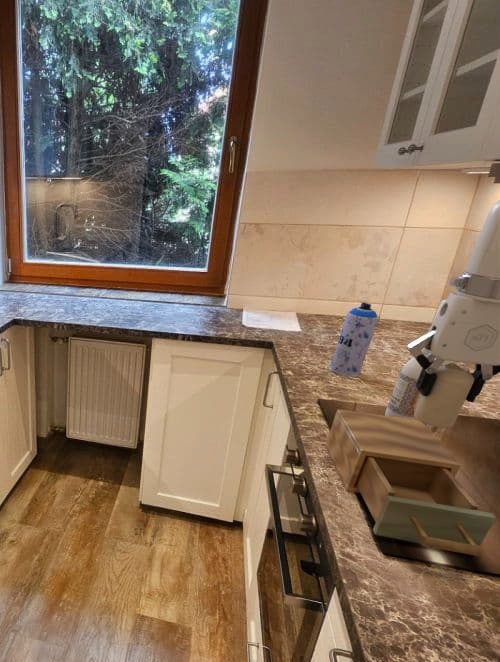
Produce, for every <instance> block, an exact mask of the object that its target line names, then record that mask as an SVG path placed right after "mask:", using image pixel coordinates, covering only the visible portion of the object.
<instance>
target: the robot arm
mask: <svg viewBox="0 0 500 662" xmlns="http://www.w3.org/2000/svg"><path fill="white" fill-rule="evenodd" d="M449 286H451V287H455V289H456V291H451V292H450V293H449V295H448V297H446V299H445V300H446V301H445V302H444V304H443V305H442V307H441V308H440V310H439V312H438V314H437V315H436V314H435V316H436V317H435V316H434V318H435V319H433V320H432V323H431V324H430V328H429V330H428V332H427V333H426V334H424V335H422V336H420V337H419V338H417V339H416V340H414V341H412V342H411V343H409V344H408V345H406V350H407V351H408V352H409V353H410V355H411V356H412V357H414V358H415V359H416V360H417V362H418V363H419V365H420V366H421V367H422V370H421V373H420V375H419V378H418V380H417V383H416V387H417V390H418V391H419V392H420V393H421V394H422V395H423V396H429V395H430V392H431V390H432V387H433V385H434V383H435V380H436V378H437V375H436V374H435V371H436V370H437V369H438V368H439V367H440V366H441V365H442V363H443V362H444V361H445V360H447V361H456V362H455V363H457V362H458V363H467V364H473V365H474V366H473V367H474V368H473V369H474V371H473V372H471V374H472V376H473V377H474V379H475V380H474V382H473V385H472V387H471V389H470V391H469V393H468V395H467V397H466V400H465V401H467V402H468V403H474V402H475V400H476V398H477V397H478V396H480V394H481V392H482V389H483V387H484V385H485V384H486V381H490V380H492V378H493V377H494V376H496V375H498V374H500V199H499V200H497V201H496V202H495V203H493V204H492V206H491V207H490V209H489V211H488V213H487V215H486V218H485V221H484V223H483V226H482V228H481V231H480V233H479V236H478V238H477V240H476V242H475V245H474V248H473V250H472V253H471V255H470V257H469V259H468V263H467V265H466V267H465V270H464V271H462V272H461V275H459V276H452V277H451V278H450V280H449ZM424 347H425V348H426V349H427V350H429V351H431V352H430V353H429V354H428V355H427V356H425V355H424V354H423V353H422V349H423V348H424Z"/></svg>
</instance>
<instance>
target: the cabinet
mask: <svg viewBox="0 0 500 662" xmlns="http://www.w3.org/2000/svg"><path fill="white" fill-rule="evenodd" d="M335 412H336V413H335V415H334V418H333V421H332V424H331V428H330V430H329V433H328V436H327V439H326V443H325V448H326V450H327V452H328V455H329V457H330V459H331V461H332V463H333V465H334V468H335V469H336V472H337V474H338V476H339V478H340V479H341V482H342V485H343V486H344V489H345V491H346V492H350V493H357V494H361V493H360V491H359V489H358V487H357V485H356V483H355V482H356V480H357V477H358V474H359V472H360V469H361V467H362V464H363V461H364V459H365V456H366V455H367V456H373V457H380V458H387V459H393V460H400V461H406V462H413V463H420V464H426V465H433V466H440V467H446V468H447V469H448V470H449V472H450V473H451V474H452V475H453V476H454V478H456V475H457V473H458V471H459V469H460V467H461V464H460V463H459V461H457V459H455V457H454V456H453V455H452V454H451V453H450V452H449V450H448V449H447V448H446V447H445V446H444V445H443V443H441V442H440V441H439V439H438V438H437V437H436V436H435V435H434V434H433V432H432V431H431V430H430V429H429V428H428V427H427V425H426V424H425V423H423V422H421V421H419V420H414V419H407V418H399V417H392V416H385V414H377V413H376V414H375V413H367V412H361V411H354V410H345V409H337V410H336V411H335Z"/></svg>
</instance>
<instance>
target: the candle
mask: <svg viewBox="0 0 500 662" xmlns="http://www.w3.org/2000/svg"><path fill="white" fill-rule="evenodd" d="M471 373H472V372H471V370H470V368H469V367H463V366H462V367H461V366H459V365H458V364H457V363H456V362H455V363H449V364H446V365H443V366H440V367H439V368H438V369H437V370H436V371H435V374H436V375H437V378H436V380H435V383H434V385H433V387H432V390H431V392H430V395H429V396H423V395H422V396H421V398H420V401H419V403H418V406H417V408H416V411H415V413H414V416H415V418H416V419H417V420H419V421H421V422H422V423H423V424H424V425H428V426H431V427H435V428H440V429H450V428H452V427H454V425H455V423H456V421H457V419H458V417H459V415H460V412H461V410H462V409H463V407H464V404H465V402H466V401H467V400H466V397H467V395H468V393H469V391H470V389H471V387H472V385H473V382H474V380H475V379H474V377H473V376H472V374H471Z"/></svg>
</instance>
